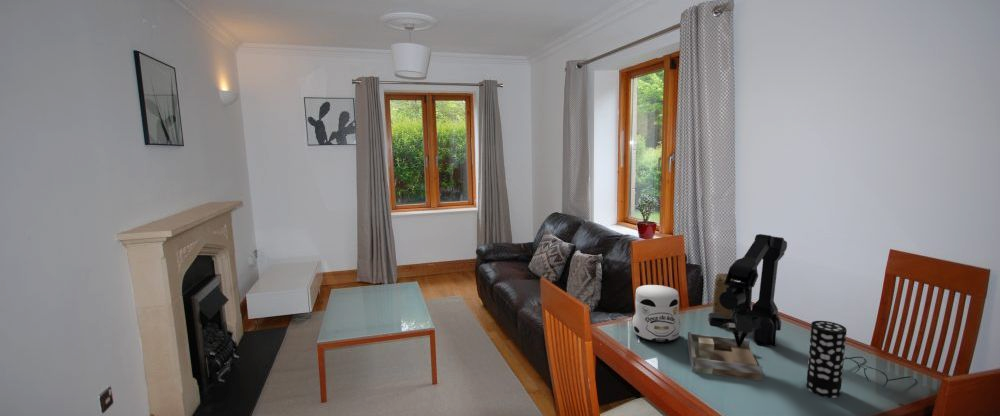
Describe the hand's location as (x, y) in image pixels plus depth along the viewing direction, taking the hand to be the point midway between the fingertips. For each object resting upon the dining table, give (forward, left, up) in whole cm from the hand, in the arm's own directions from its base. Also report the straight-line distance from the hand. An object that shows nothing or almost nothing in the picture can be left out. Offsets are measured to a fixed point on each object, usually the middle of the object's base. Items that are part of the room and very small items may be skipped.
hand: (738, 346), depth 151 cm
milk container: (+26, -15, -6) cm, 31 cm away
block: (0, -36, -6) cm, 37 cm away
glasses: (-40, -5, -7) cm, 41 cm away
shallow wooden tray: (+5, 0, -6) cm, 8 cm away
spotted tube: (-21, +11, -6) cm, 25 cm away
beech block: (+10, -1, -4) cm, 11 cm away
